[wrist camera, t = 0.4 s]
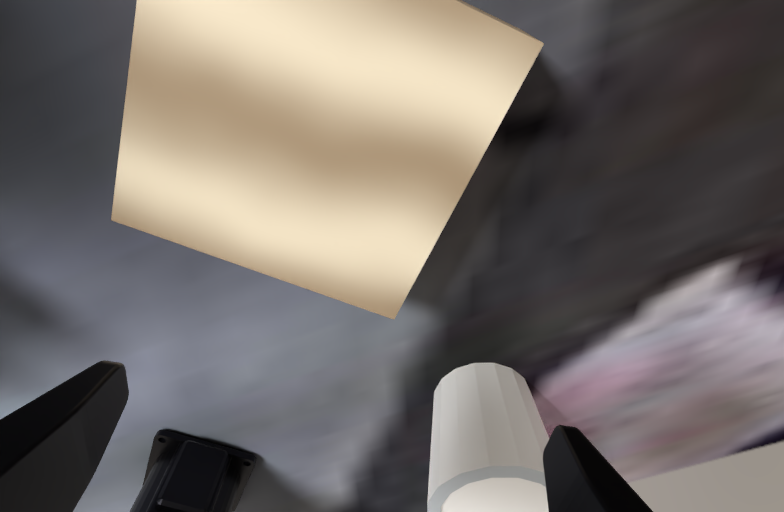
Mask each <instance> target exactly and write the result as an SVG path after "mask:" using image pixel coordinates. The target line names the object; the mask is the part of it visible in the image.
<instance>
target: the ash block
mask: <svg viewBox="0 0 784 512" xmlns="http://www.w3.org/2000/svg"><path fill="white" fill-rule="evenodd" d="M543 45H544V43H542V42H541V41H539V40H537V39H536V38H534V37H532V36H531V35H529V34H527V33H526V32H524V31H522V30H521V29H519V28H517V27H514V26H512V25H510V24H508V23H506V22H504V21H502V20H500V19H498V18H496V17H494V16H492V15H490V14H488V13H486V12H484V11H482V10H480V9H478V8H476V7H474V6H472V5H470V4H468V3H466V2H464V1H461V0H137V5H136V13H135V22H134V30H133V38H132V47H131V55H130V64H129V72H128V81H127V89H126V98H125V106H124V115H123V123H122V132H121V140H120V149H119V157H118V166H117V174H116V183H115V191H114V200H113V208H112V217H111V220H112V221H115V222H118V223H121V224H124V225H126V226H129V227H132V228H135V229H138V230H141V231H143V232H146V233H149V234H152V235H155V236H158V237H161V238H163V239H166V240H169V241H172V242H175V243H178V244H180V245H183V246H186V247H189V248H192V249H195V250H198V251H200V252H203V253H206V254H209V255H212V256H215V257H217V258H220V259H223V260H226V261H229V262H232V263H235V264H237V265H240V266H243V267H246V268H249V269H252V270H254V271H257V272H260V273H263V274H266V275H269V276H272V277H274V278H277V279H280V280H283V281H286V282H289V283H291V284H294V285H297V286H300V287H303V288H306V289H309V290H311V291H314V292H317V293H320V294H323V295H326V296H328V297H331V298H334V299H337V300H340V301H343V302H346V303H348V304H351V305H354V306H357V307H360V308H363V309H365V310H368V311H371V312H374V313H377V314H380V315H382V316H385V317H388V318H391V319H395V317H396V315H397V313H398V311H399V309H400V308H401V306H402V304H403V302H404V300H405V298H406V296H407V295H408V293H409V291H410V289H411V287H412V285H413V284H414V282H415V280H416V278H417V276H418V274H419V273H420V271H421V269H422V267H423V265H424V263H425V262H426V260H427V258H428V256H429V254H430V252H431V251H432V249H433V247H434V245H435V243H436V241H437V239H438V238H439V236H440V234H441V232H442V230H443V228H444V227H445V225H446V223H447V221H448V219H449V217H450V216H451V214H452V212H453V210H454V208H455V206H456V205H457V203H458V201H459V199H460V197H461V195H462V194H463V192H464V190H465V188H466V186H467V184H468V183H469V181H470V179H471V177H472V175H473V173H474V171H475V170H476V168H477V166H478V164H479V162H480V160H481V159H482V157H483V155H484V153H485V151H486V149H487V148H488V146H489V144H490V142H491V140H492V138H493V137H494V135H495V133H496V131H497V129H498V127H499V126H500V124H501V122H502V120H503V118H504V116H505V114H506V113H507V111H508V109H509V107H510V105H511V103H512V102H513V100H514V98H515V96H516V94H517V92H518V91H519V89H520V87H521V85H522V83H523V81H524V80H525V78H526V76H527V74H528V72H529V70H530V69H531V67H532V65H533V63H534V61H535V59H536V58H537V56H538V54H539V52H540V50H541V48H542V46H543Z"/></svg>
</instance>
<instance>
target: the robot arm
mask: <svg viewBox="0 0 784 512" xmlns="http://www.w3.org/2000/svg"><path fill="white" fill-rule="evenodd" d="M128 395H129V390H128V383H127V376H126V370H125V366H124V365H123V364H122V363H118V362H111V361H100V362H98V363H96V364H94V365H92V366H91V367H89V368H87V369H86V370H84V371H82V372H81V373H79V374H77V375H75V376H74V377H72V378H70V379H69V380H67V381H65V382H64V383H62V384H60V385H58V386H57V387H55V388H53V389H52V390H50V391H48V392H47V393H45V394H43V395H41V396H40V397H38V398H36V399H35V400H33V401H31V402H30V403H28V404H26V405H24V406H23V407H21V408H19V409H18V410H16V411H14V412H13V413H11V414H9V415H7V416H6V417H4V418H2V419H1V420H0V512H73V510H74V508H75V507H76V505H77V503H78V502H79V500H80V498H81V496H82V495H83V493H84V491H85V490H86V488H87V486H88V484H89V483H90V481H91V479H92V477H93V475H94V473H95V471H96V469H97V467H98V465H99V463H100V461H101V458H102V456H103V454H104V452H105V450H106V447H107V445H108V443H109V441H110V439H111V436H112V434H113V432H114V430H115V428H116V425H117V423H118V421H119V419H120V416H121V414H122V412H123V410H124V408H125V405H126V403H127V400H128ZM255 462H256V457H255V456H254V455H252V454H249V453H245V452H242V451H238V450H235V449H231V448H227V447H224V446H220V445H217V444H213V443H210V442H206V441H203V440H199V439H195V438H192V437H188V436H185V435H181V434H178V433H174V432H171V431H167V430H159V431H158V432H157V434H156V435H155V437H154V441H153V445H152V449H151V453H150V457H149V462H148V466H147V470H146V474H145V478H144V483H143V487H142V489H141V491H140V493H139V495H138V497H137V498H136V500H135V502H134V504H133V506H132V508H131V510H130V512H232V511H234V510H235V509H236V507H237V505H238V502H239V500H240V498H241V495H242V493H243V491H244V488H245V486H246V484H247V482H248V479H249V477H250V475H251V472H252V470H253V468H254V465H255ZM543 466H544V475H545V484H546V492H547V501H548V509H549V512H653V511H652V510H651V509H650V508H649V507H648V506H647V504H646V503H645V502H644V501H643V500H642V499H641V498H640V497H639V496H638V494H637V493H636V492H635V491H634V490H633V489H632V488H631V487H630V486H629V484H628V483H627V482H626V481H625V480H624V479H623V478H622V477H621V476H620V474H619V473H618V472H617V471H616V470H615V469H614V468H613V467H612V466H611V465H610V463H609V462H608V461H607V460H606V459H605V458H604V457H603V456H602V455H601V453H600V452H599V451H598V450H597V449H596V448H595V447H594V446H593V445H592V443H591V442H590V441H589V440H588V439H587V438H586V437H585V436H584V435H583V433H582V432H581V431H580V430H579V429H577V428H575V427H570V426H563V425H558V426H557V427H556V428H555V429H554V431H553V433H552V435H551V437H550V439H549V441H548V442H547V444H546V446H545V448H544V452H543Z"/></svg>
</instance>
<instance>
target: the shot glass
mask: <svg viewBox="0 0 784 512" xmlns="http://www.w3.org/2000/svg"><path fill="white" fill-rule="evenodd" d="M548 441H549V436H548V434H547V432H546V429H545V427H544V424H543V422H542V419H541V417H540V414H539V412H538V409H537V407H536V404H535V402H534V399H533V397H532V395H531V392H530V390H529V387H528V385H527V383H526V381H525V379H524V377H522V376H521V375H520V374H519V373H517V372H516V371H515V370H513V369H512V368H510V367H506V366H503V365H500V364H496V363H472V364H469V365H466V366H462V367H459V368H456V369H454V370H453V371H452V372H450V373H449V374H447V375H446V376H445V377H443V378H442V379H441V381H440V382H439V384H438V386H437V387H436V389H435V391H434V405H433V421H432V437H431V453H430V469H429V485H428V501H427V506H428V512H549V509H548V501H547V492H546V484H545V475H544V466H543V452H544V448H545V446H546V444H547V442H548Z"/></svg>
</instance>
